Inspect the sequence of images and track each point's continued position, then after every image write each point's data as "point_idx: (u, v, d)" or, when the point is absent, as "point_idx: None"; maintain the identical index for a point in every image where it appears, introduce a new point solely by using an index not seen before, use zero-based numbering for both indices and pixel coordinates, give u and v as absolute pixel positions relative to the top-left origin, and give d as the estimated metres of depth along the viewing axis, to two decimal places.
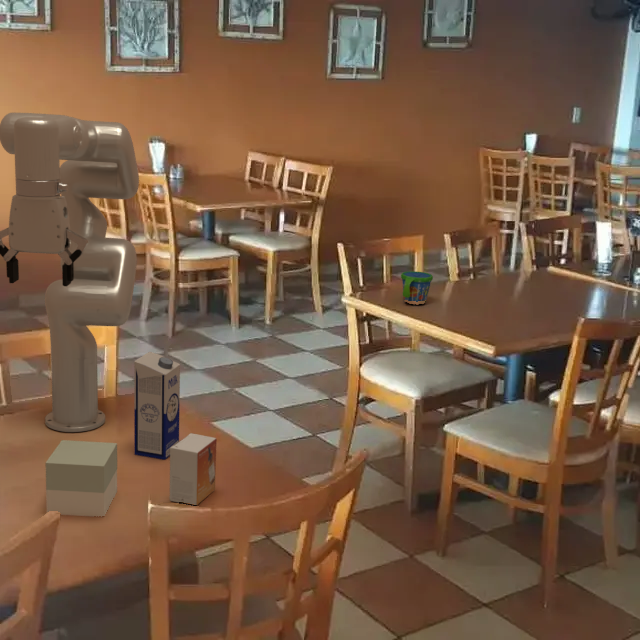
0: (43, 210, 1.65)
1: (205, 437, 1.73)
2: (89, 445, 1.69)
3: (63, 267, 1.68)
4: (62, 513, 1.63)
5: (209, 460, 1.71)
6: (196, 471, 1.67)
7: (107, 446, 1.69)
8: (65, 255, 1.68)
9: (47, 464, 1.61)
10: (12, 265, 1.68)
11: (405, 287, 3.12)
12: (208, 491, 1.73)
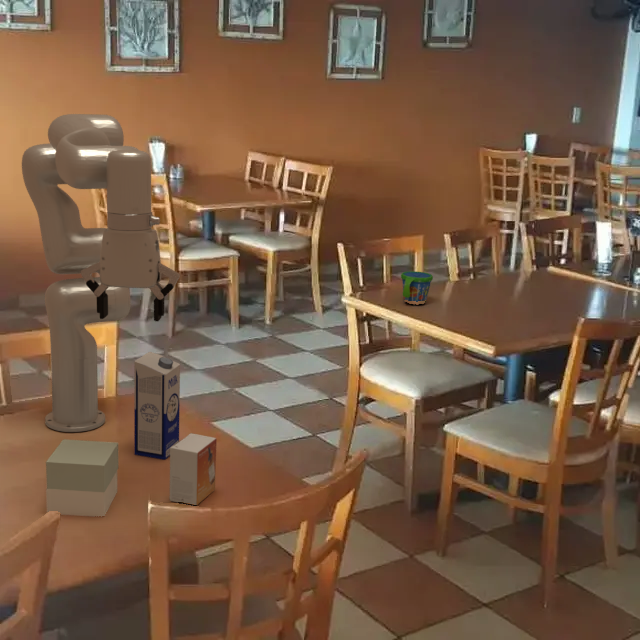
0: (135, 244, 1.61)
1: (205, 437, 1.73)
2: (90, 444, 1.69)
3: (155, 302, 1.64)
4: (62, 512, 1.63)
5: (209, 460, 1.71)
6: (196, 471, 1.67)
7: (108, 445, 1.69)
8: (157, 289, 1.64)
9: (47, 463, 1.61)
10: (103, 300, 1.65)
11: (405, 287, 3.12)
12: (208, 491, 1.73)
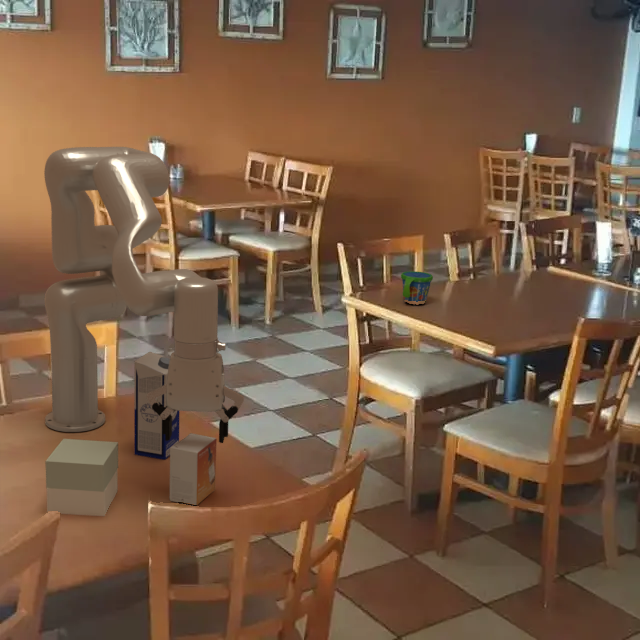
0: (202, 370, 1.64)
1: (205, 437, 1.73)
2: (90, 444, 1.69)
3: (220, 425, 1.67)
4: (62, 512, 1.63)
5: (209, 460, 1.71)
6: (196, 471, 1.67)
7: (108, 445, 1.69)
8: (222, 413, 1.67)
9: (47, 462, 1.61)
10: (168, 423, 1.67)
11: (405, 287, 3.12)
12: (208, 491, 1.73)
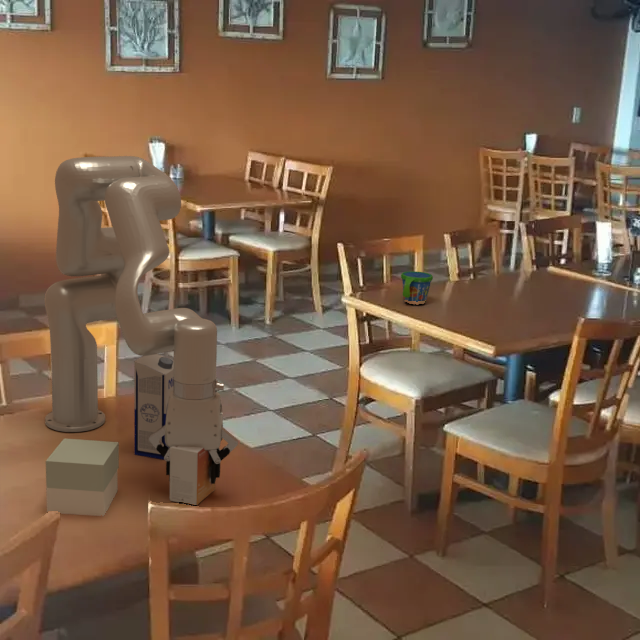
0: (201, 410, 1.66)
1: None
2: (90, 444, 1.69)
3: (212, 466, 1.70)
4: (62, 512, 1.63)
5: (210, 460, 1.71)
6: (196, 471, 1.67)
7: (108, 445, 1.69)
8: (216, 454, 1.69)
9: (47, 462, 1.61)
10: None
11: (405, 287, 3.12)
12: (208, 490, 1.72)
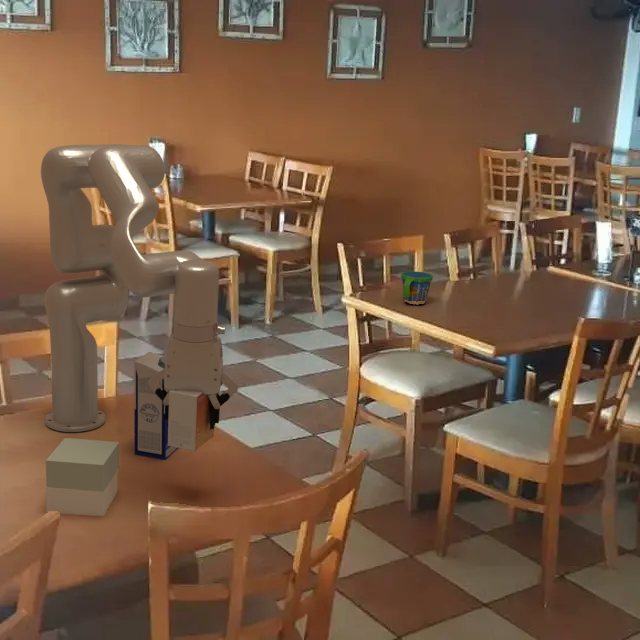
0: (201, 354, 1.63)
1: None
2: (91, 443, 1.69)
3: (211, 411, 1.67)
4: (62, 511, 1.63)
5: (209, 405, 1.69)
6: (195, 415, 1.64)
7: (109, 444, 1.69)
8: (215, 399, 1.67)
9: (47, 462, 1.61)
10: None
11: (405, 287, 3.12)
12: (207, 436, 1.70)
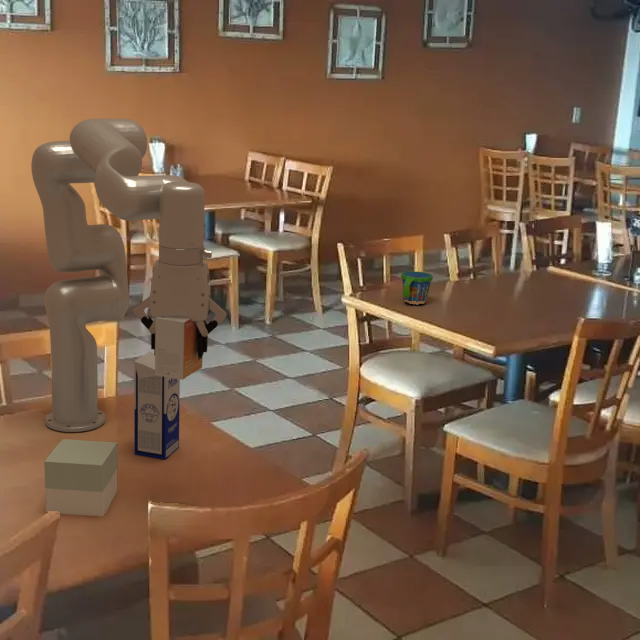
0: (188, 278, 1.59)
1: None
2: (89, 444, 1.69)
3: (199, 339, 1.63)
4: (61, 512, 1.63)
5: (197, 333, 1.64)
6: (183, 342, 1.60)
7: (107, 445, 1.69)
8: (203, 326, 1.62)
9: (46, 463, 1.61)
10: None
11: (405, 287, 3.12)
12: (195, 366, 1.66)
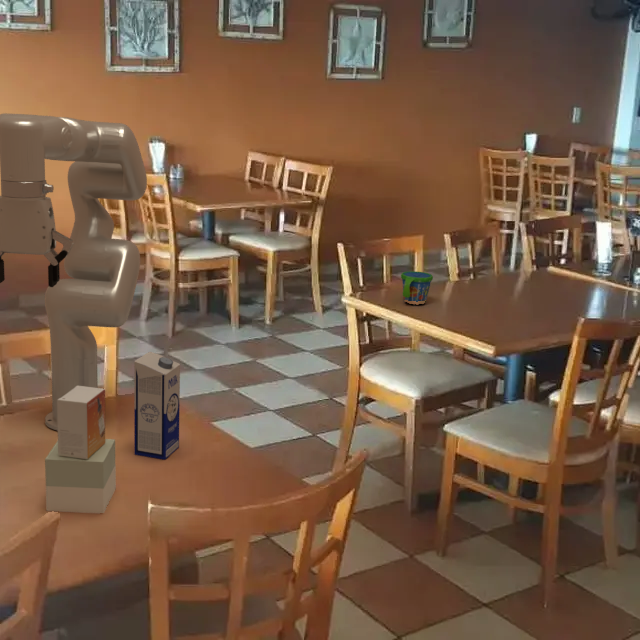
0: (28, 211, 1.65)
1: (93, 388, 1.66)
2: None
3: (49, 268, 1.68)
4: (61, 509, 1.64)
5: (99, 411, 1.65)
6: (86, 422, 1.60)
7: (105, 442, 1.70)
8: (51, 256, 1.68)
9: (46, 460, 1.62)
10: None
11: (405, 287, 3.12)
12: (98, 443, 1.66)
